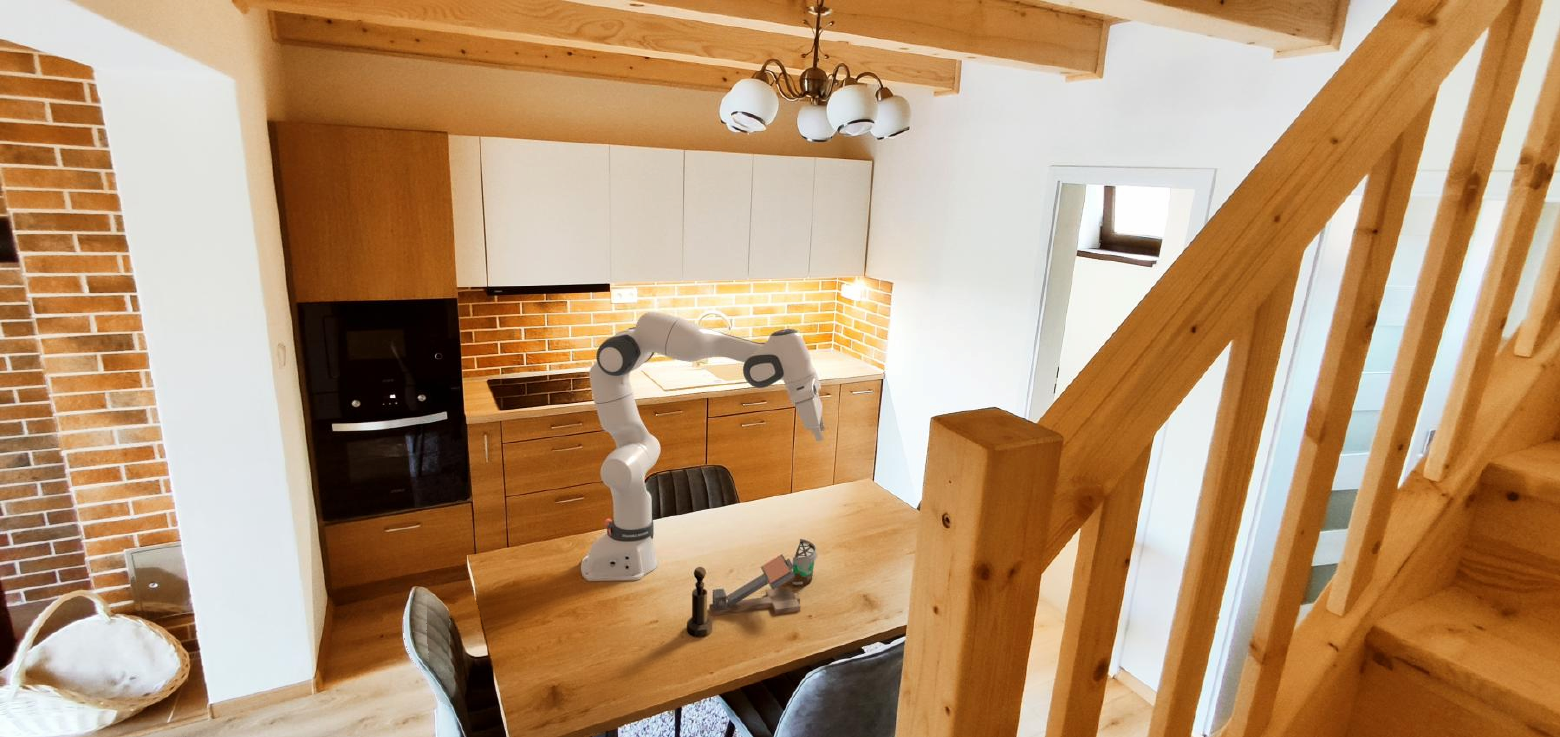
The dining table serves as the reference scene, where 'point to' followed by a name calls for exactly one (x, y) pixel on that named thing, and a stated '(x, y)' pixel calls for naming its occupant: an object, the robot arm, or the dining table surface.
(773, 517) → the dining table surface
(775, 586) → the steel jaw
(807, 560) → the food container
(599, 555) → the robot arm
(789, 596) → the walnut jaw
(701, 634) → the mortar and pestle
